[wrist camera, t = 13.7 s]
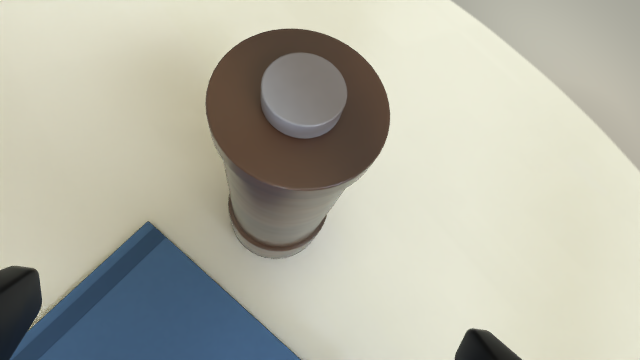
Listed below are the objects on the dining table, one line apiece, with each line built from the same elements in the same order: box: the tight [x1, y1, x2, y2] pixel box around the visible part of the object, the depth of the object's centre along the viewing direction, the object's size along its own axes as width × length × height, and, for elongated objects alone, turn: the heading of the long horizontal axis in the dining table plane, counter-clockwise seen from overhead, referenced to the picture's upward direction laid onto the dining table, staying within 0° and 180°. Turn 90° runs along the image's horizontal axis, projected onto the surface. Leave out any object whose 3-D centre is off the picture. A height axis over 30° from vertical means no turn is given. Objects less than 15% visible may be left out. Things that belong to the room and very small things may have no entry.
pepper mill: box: [206, 29, 390, 259], centre depth 15 cm, size 5×5×12 cm
